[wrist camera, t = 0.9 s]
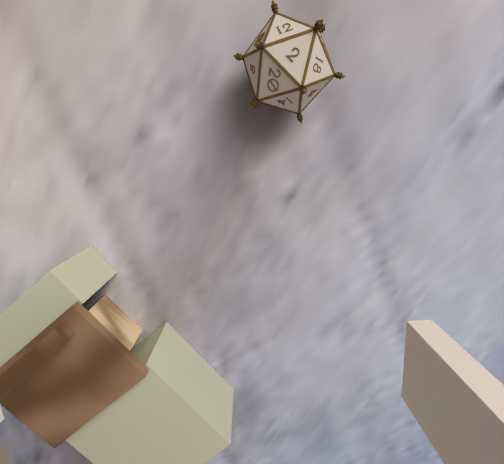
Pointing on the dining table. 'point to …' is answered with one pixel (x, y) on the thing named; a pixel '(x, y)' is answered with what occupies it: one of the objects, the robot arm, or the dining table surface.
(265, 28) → the game die
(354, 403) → the dining table surface
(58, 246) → the dining table surface
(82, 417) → the walnut cover
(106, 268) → the pale green split block
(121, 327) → the maple block
